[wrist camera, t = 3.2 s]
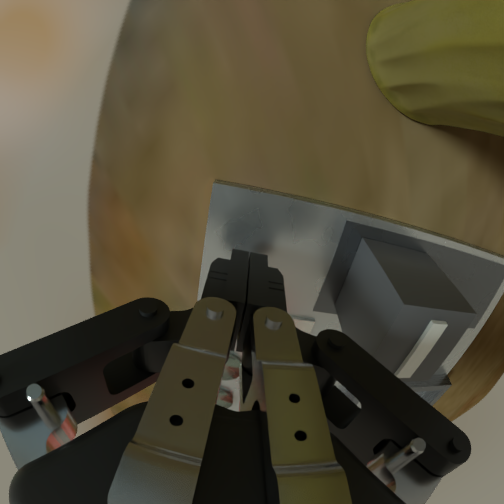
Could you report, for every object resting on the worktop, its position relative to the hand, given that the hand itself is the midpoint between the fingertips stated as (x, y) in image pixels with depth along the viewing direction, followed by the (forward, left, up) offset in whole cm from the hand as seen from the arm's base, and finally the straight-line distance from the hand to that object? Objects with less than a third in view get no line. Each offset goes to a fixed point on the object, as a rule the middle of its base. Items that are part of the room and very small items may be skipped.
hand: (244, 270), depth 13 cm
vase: (-11, +6, -2) cm, 13 cm away
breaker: (0, +7, -1) cm, 7 cm away
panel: (+7, +8, -2) cm, 11 cm away
